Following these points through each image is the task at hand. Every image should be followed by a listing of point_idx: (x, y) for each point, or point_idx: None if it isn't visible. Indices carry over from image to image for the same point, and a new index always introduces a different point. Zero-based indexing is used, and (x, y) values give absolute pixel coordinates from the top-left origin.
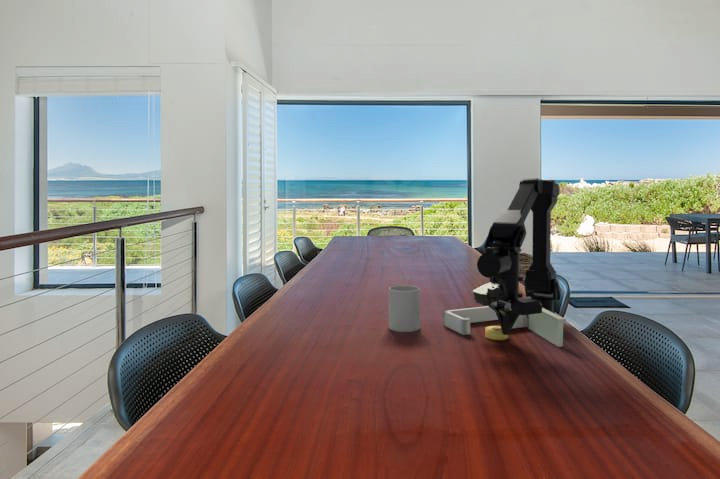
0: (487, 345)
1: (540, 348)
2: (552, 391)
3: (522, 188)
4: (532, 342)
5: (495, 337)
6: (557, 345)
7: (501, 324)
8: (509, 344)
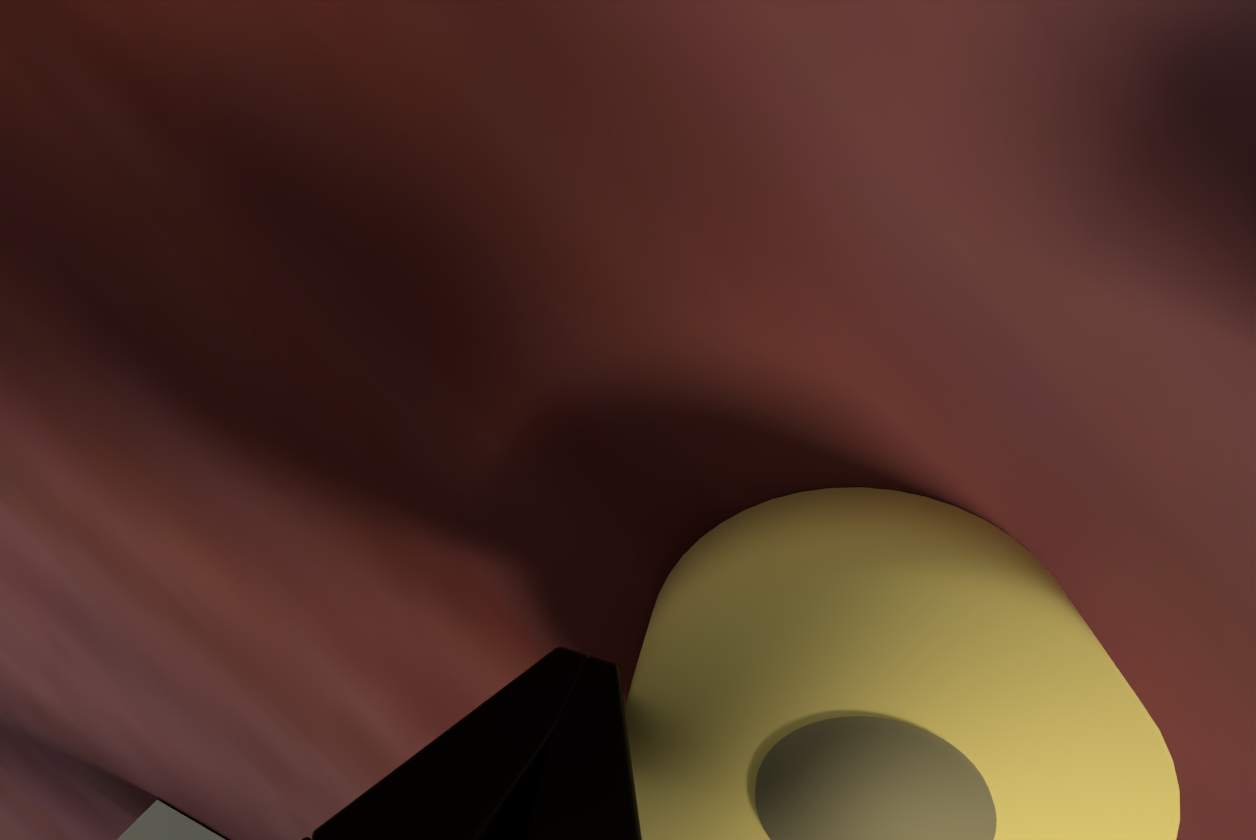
0: (590, 107)
1: (165, 640)
2: None
3: None
4: (372, 768)
5: (736, 540)
6: (151, 813)
7: (554, 831)
8: (440, 491)
